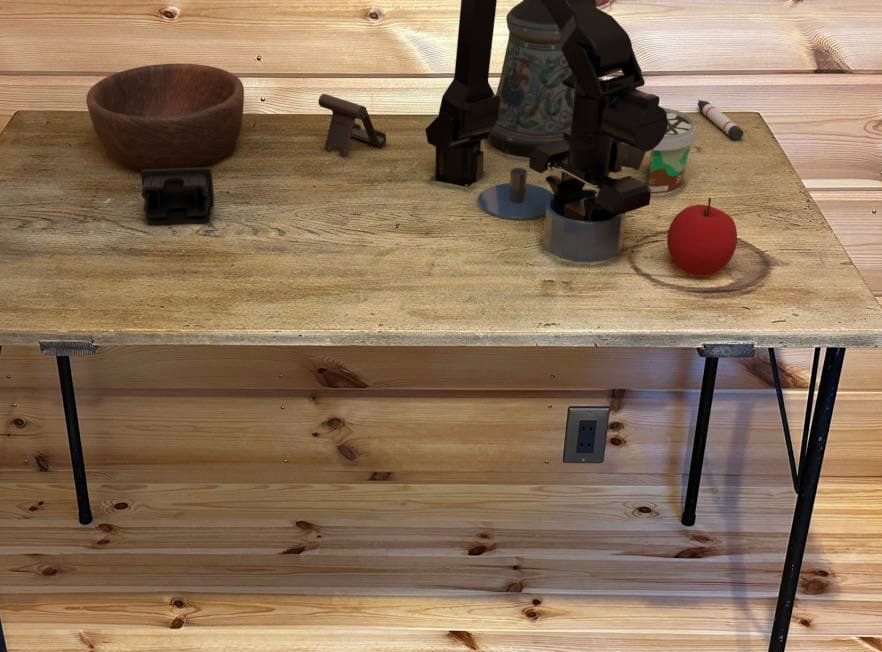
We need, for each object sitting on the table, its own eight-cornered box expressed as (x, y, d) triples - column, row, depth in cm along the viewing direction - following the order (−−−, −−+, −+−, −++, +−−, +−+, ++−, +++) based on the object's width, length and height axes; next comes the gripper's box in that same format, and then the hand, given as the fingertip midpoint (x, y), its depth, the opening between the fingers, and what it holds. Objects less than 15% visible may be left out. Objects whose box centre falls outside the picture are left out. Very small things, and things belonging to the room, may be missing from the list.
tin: (531, 255, 164) (534, 213, 160) (559, 223, 171) (562, 182, 168) (606, 272, 160) (611, 229, 156) (631, 238, 167) (636, 197, 164)
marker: (742, 139, 195) (744, 128, 194) (731, 140, 195) (733, 129, 193) (702, 106, 207) (704, 95, 206) (692, 107, 207) (693, 96, 206)
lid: (465, 214, 174) (466, 179, 171) (496, 184, 183) (497, 149, 179) (539, 230, 170) (541, 194, 167) (567, 198, 178) (570, 163, 175)
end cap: (215, 202, 179) (210, 160, 175) (212, 223, 173) (207, 180, 169) (148, 204, 179) (142, 162, 175) (143, 226, 173) (137, 183, 169)
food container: (689, 203, 176) (698, 139, 170) (647, 200, 177) (655, 137, 171) (688, 169, 186) (697, 108, 180) (648, 166, 187) (656, 105, 181)
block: (561, 238, 165) (564, 204, 162) (583, 231, 167) (586, 197, 164) (580, 249, 163) (583, 215, 160) (602, 242, 164) (606, 208, 161)
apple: (648, 262, 162) (657, 195, 156) (699, 246, 165) (709, 179, 159) (694, 291, 155) (705, 222, 149) (746, 274, 159) (759, 205, 153)
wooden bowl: (99, 189, 183) (88, 126, 177) (92, 129, 203) (82, 70, 197) (259, 171, 188) (254, 109, 182) (237, 114, 208) (232, 56, 202)
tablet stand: (387, 145, 195) (386, 96, 191) (355, 160, 191) (353, 110, 186) (348, 132, 200) (346, 84, 195) (315, 146, 195) (313, 97, 191)
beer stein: (465, 145, 195) (469, -10, 181) (532, 110, 207) (541, -38, 192) (549, 171, 186) (561, 11, 172) (614, 133, 198) (630, -20, 184)
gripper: (689, 135, 152) (673, 243, 161) (593, 91, 165) (583, 194, 174) (623, 155, 147) (611, 266, 157) (529, 109, 160) (523, 213, 169)
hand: (583, 233), depth 164 cm, fingers closed on block, 4 cm apart
